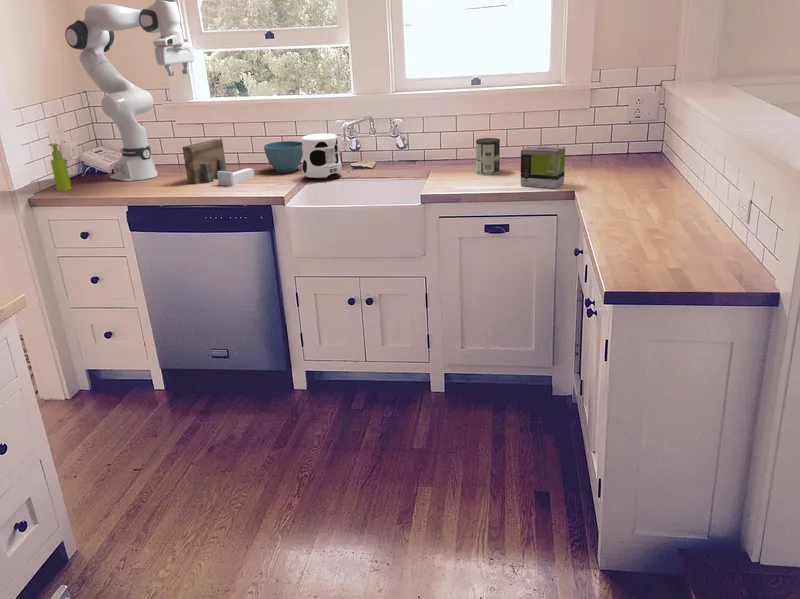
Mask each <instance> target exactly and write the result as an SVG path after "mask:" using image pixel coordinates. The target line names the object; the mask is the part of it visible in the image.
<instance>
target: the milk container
mask: <svg viewBox="0 0 800 599" xmlns="http://www.w3.org/2000/svg"><path fill="white" fill-rule="evenodd" d="M301 142H302V151H303V156H302V161H301V162H302V164H301V169H302V170H301V171H302V174H303V176H304V177H305V178H306V179H309V180H317V181H319V180H330V179H333V178H336V177H338V176H340V175H341V174H342V161H341V158H340V155H339V154H340V153H339V144H338V135H337V134H334V133H314V134H313V133H312V134H307V135H304V136H301Z"/></svg>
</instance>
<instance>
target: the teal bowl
mask: <svg viewBox="0 0 800 599" xmlns="http://www.w3.org/2000/svg"><path fill="white" fill-rule="evenodd" d="M263 149H264V154H265V156H266V159H267V160H268V163H269V164H270V165H271V167H272V168H273V169H274V170H275V171H276V172H277V173H281V174H285V173H286V174H287V173H292V172H295V171H296V170H297V169H298V167H299V166H300V163H301V162H302V160H303V151H302V141H297V140H283V141H282V140H281V141H275V142H269V143H266V144H264V145H263Z"/></svg>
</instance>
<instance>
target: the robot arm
mask: <svg viewBox="0 0 800 599" xmlns="http://www.w3.org/2000/svg"><path fill="white" fill-rule="evenodd" d="M181 21H182V20H181V15H180V10H179V7H178V4H177V2H176V0H155V2H154V3H153V4H151V5H150V6H148V7H146V8H143V9H138V8H137V9H136V8H131V7H127V6H122V5H119V4H114V3H101V2H100V3H94V4H91V5H89V6H87V7H86V8H85V11H84V19H83V20H80V19H77V20H76V21H74V22H73V23H71V24H70V25H69V26H68V27H67V28H66V29H65V33H64V34H65V40H66V43H67V45H69V47H71V48H73V49H75V50H80V51H81V52H80V54H79V61H80V64H81V66H82V67H83V69H84V70H85V72H86V73H87V75H88V76H89V77H90V79H91V80H92V81H93V82H94V84H96V86H97V87H98V89H100V91H101V92H103V93H105V94H107V95H105V96H103V97H102V99H101V102H100V103H101V105H100V106H101V108H102V112H103V113H104V114H105V115H106V116H107V117H108V118H109V119H111V120H112V121H113V123H115V124H116V126H117V128H118V130H119V133H120V138H121V142H122V148H120V149H119V150H120V151H119V152H120V153H121V157H120V158H119V159H118V160H117V161H116V162H115V164H114V165H113V166H114V169H113V170H114V173H113V174H112V175H110V176H109V178H110V179H112V180H117V181H118V180H119V181H121V182H133V181H141V180H148V179H153V178H156V177H158V173H159V172H158V170H157V168H156V166H155V162H154V158H153V156H152V155H151V154H152V150H151V146H150V145H149V139H148V135H147V130H146V127H145V126H143V125H142V124H140V123H138V121H137V119H136V117H135V116H137V115H143V114H145V113H147V112H149V111H150V110H152V109H153V107H154V98H153V96H152V94H151V93H150V92H149V91H148V90H146V89H144V88H140V87H138V86H137V85H135V84H133V83H132V82H130V81H129V80H128V79H126V78H125V77H124V76H123V75H122V74H121V73H120V72H119V71H118V70H117V68H115V67H114V65H113V64H112V62H110V60H109V59H108V58H107V57H106V55H105V53H106V52H109V50H110V48H111V46H112V45H113V43H114V40H115V33H114V32H117V31H124V30H129V29H134V28H138V27H141V29H142V31H144V32H146V33H151V34H155V33H159V34H160V36H159V37H157V38H156V39H154V40H153V42H152V43H153V46H154V55H155V60H156V64H158V66H164V69H165V70H166V72H167V75H168V77H174V76H175V74H174V71H173V70H172V66H171V65H179V64H182V67H183V68H182V70H181V71H182V74H183V75H188V73H189V70H188V68H189V66H190V63H192V62H194V60H195V58H194V53H193V52H194V51H193V49H192V45H191V44H190V42H189V40H188V39H186V38H184V33H183V30H182V27H181Z"/></svg>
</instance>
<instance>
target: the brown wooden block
mask: <svg viewBox="0 0 800 599" xmlns="http://www.w3.org/2000/svg"><path fill="white" fill-rule="evenodd" d="M181 148H182V154H183V159H184V165H185V166H184V167H185V171H186V172H185V173H186V178H187V183H188V184H192V185H198V184H201V183H212V182H214V179H218V176H217V171H225V172H228V171H227V166H226V164H227V163H226V158H225V150H224V144H223V139H217V138H216V139H215V138H214V139H210V140H206V141H202V142H197V143H194V144H189V145H186V146H181Z"/></svg>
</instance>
